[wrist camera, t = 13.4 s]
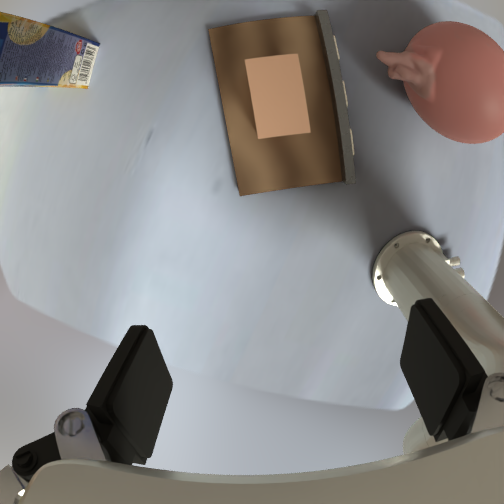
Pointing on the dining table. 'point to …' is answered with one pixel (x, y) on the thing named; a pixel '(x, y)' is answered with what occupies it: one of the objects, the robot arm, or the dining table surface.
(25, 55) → the beverage box
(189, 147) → the dining table surface
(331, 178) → the shelf board
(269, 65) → the carton
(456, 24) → the balloon
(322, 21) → the rail
